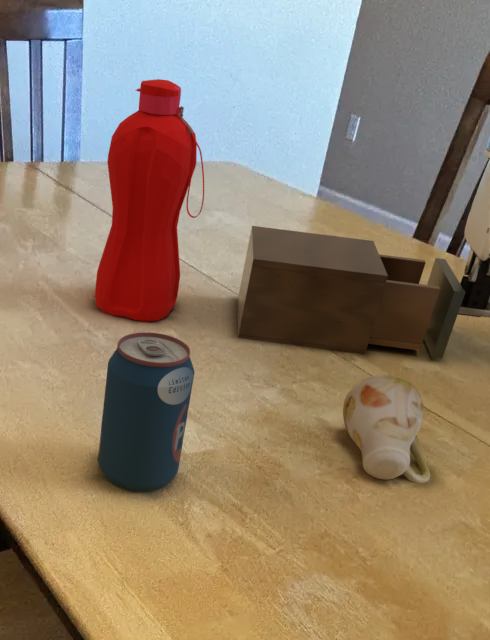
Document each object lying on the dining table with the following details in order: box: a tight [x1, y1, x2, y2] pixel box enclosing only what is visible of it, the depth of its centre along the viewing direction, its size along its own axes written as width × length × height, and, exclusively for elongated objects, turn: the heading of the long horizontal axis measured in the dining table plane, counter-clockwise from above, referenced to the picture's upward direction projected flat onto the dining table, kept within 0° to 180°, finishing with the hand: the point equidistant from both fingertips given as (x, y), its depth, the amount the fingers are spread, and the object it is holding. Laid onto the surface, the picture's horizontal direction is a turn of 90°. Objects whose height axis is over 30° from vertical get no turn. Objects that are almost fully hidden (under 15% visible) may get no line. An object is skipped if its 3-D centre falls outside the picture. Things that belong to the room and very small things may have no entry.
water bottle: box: [94, 78, 205, 323], centre depth 99 cm, size 9×11×25 cm
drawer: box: [368, 253, 490, 359], centre depth 102 cm, size 19×11×8 cm, turn 82°
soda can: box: [97, 331, 195, 493], centre depth 72 cm, size 7×7×12 cm
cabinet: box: [237, 225, 388, 356], centre depth 103 cm, size 15×13×10 cm
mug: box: [342, 374, 431, 484], centre depth 80 cm, size 8×10×10 cm
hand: (466, 312), depth 102 cm, fingers closed
